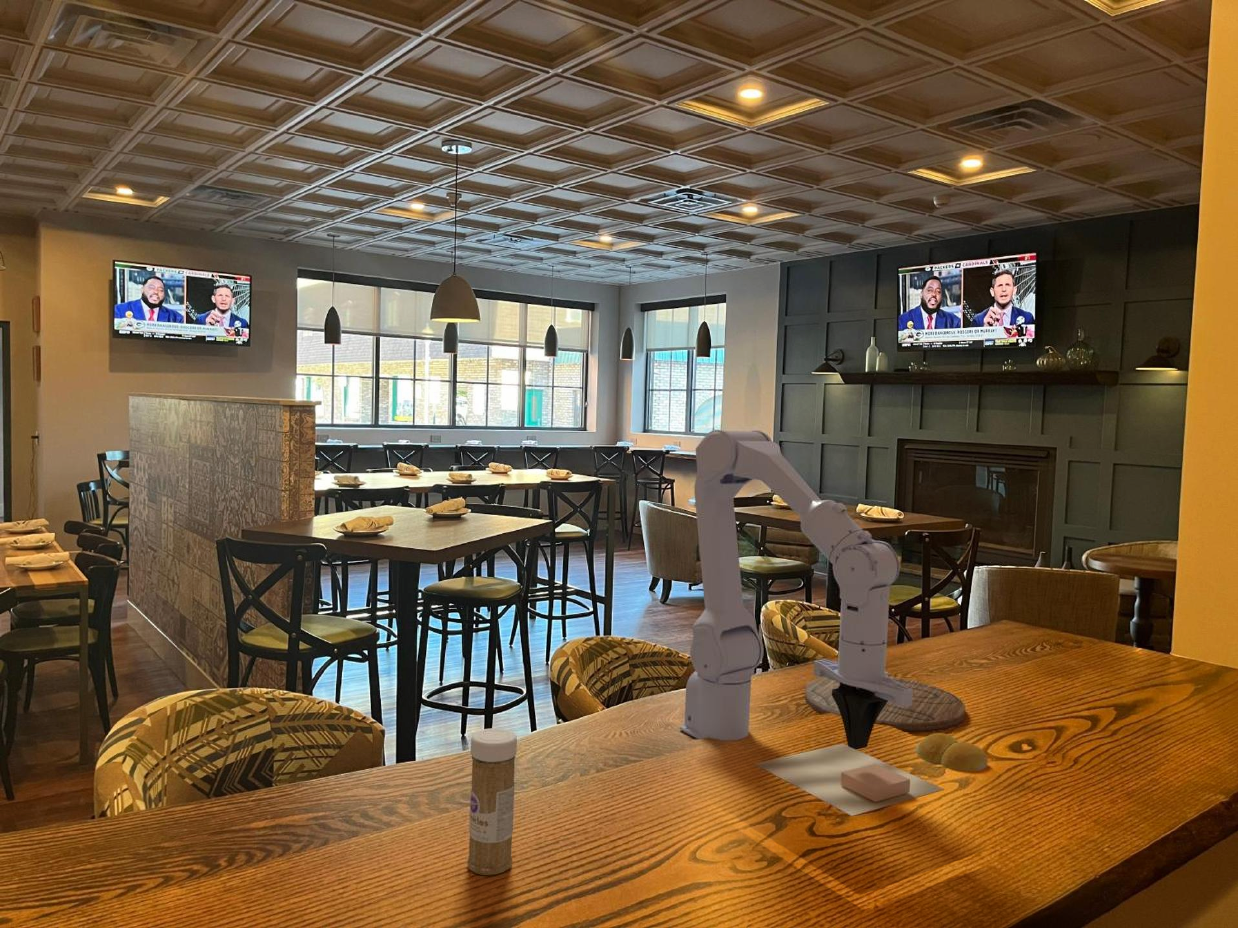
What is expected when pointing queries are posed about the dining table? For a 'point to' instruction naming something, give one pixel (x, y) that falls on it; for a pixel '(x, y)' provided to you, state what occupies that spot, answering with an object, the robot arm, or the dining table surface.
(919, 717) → the trivet
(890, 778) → the block
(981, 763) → the bread roll
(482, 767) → the sprinkles bottle
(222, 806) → the dining table surface
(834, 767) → the board
